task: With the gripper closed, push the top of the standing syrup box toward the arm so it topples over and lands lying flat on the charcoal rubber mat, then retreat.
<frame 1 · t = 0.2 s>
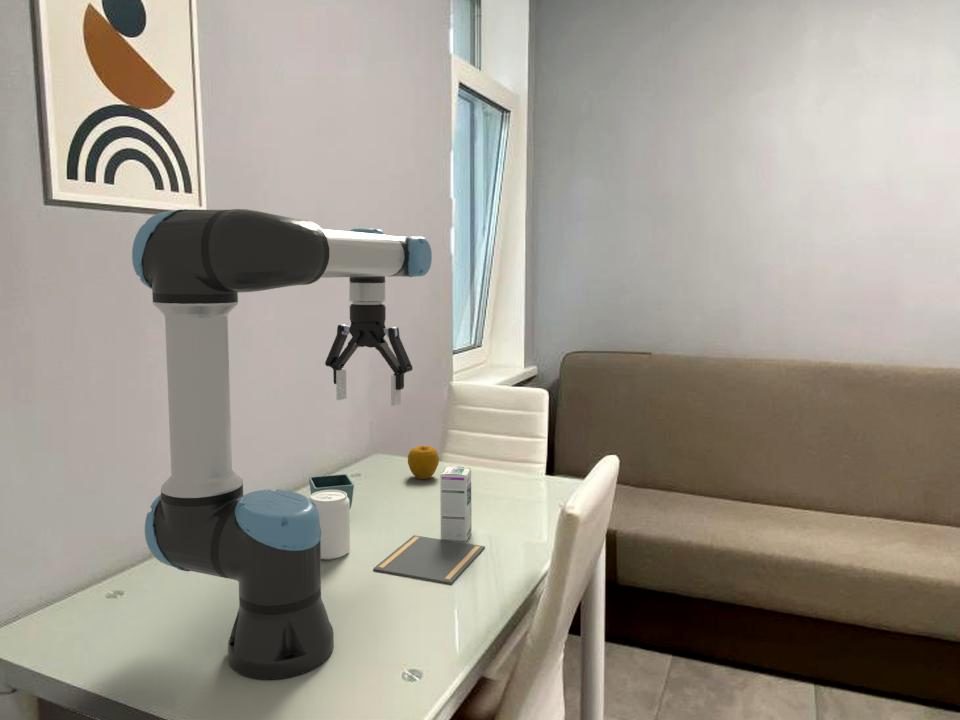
hand: (368, 402, 152), 28 cm above the table, fingers open, 13 cm apart
apple: (423, 478, 193), on the table
beverage can: (329, 554, 141), on the table
mat: (431, 558, 139), on the table
syrup box: (455, 536, 152), on the table
flower pot: (331, 519, 161), on the table
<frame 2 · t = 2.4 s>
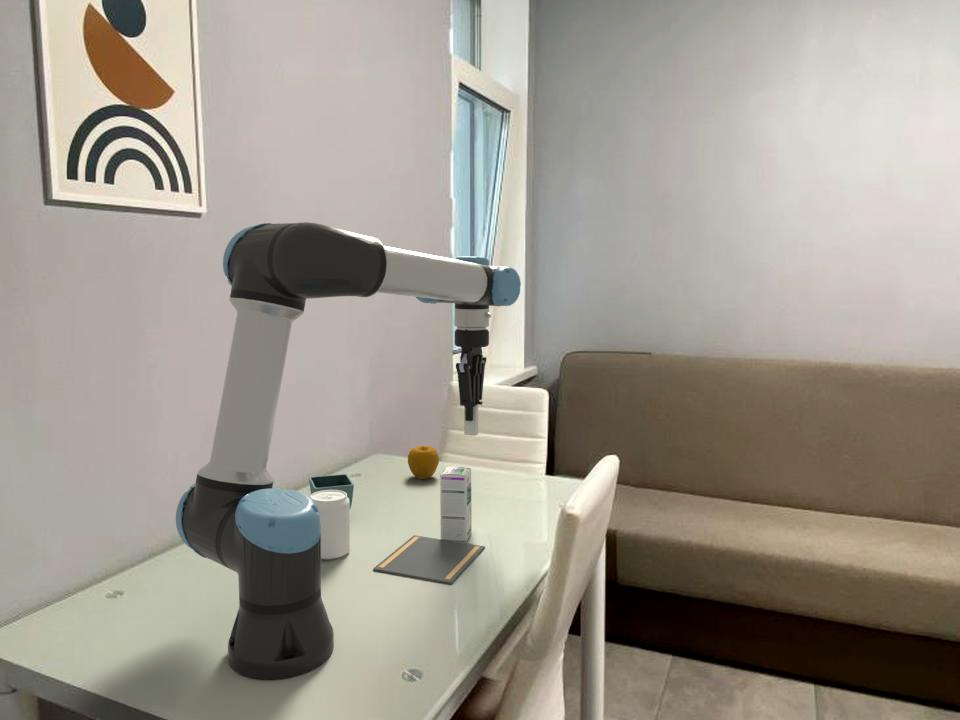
hand: (471, 434, 157), 20 cm above the table, fingers closed
nothing on the table moved.
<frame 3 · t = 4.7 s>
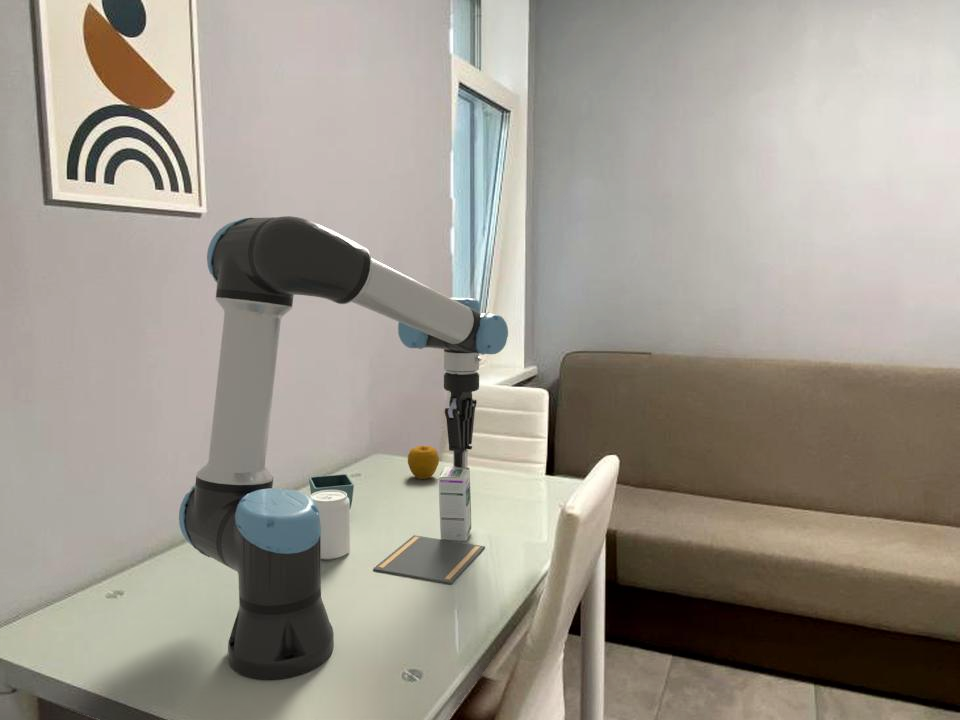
hand: (460, 479, 152), 12 cm above the table, fingers closed
syrup box: (455, 535, 151), on the table, touching gripper
everything else where it was.
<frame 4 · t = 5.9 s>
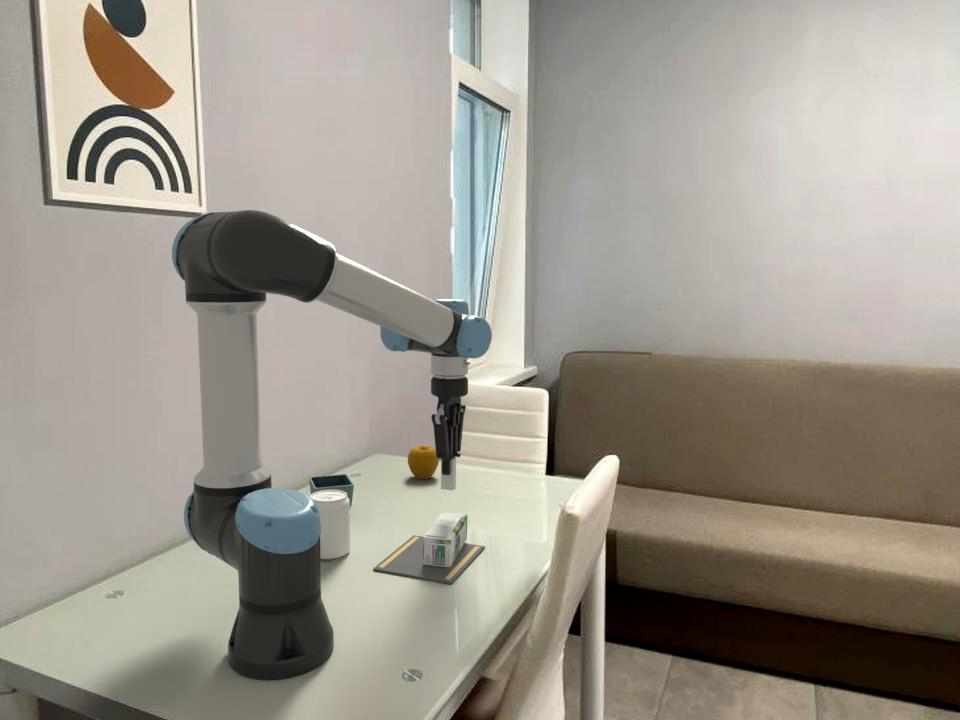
hand: (448, 488, 146), 12 cm above the table, fingers closed
syrup box: (454, 525, 149), point 3 cm above the table, touching mat
everything else where it was.
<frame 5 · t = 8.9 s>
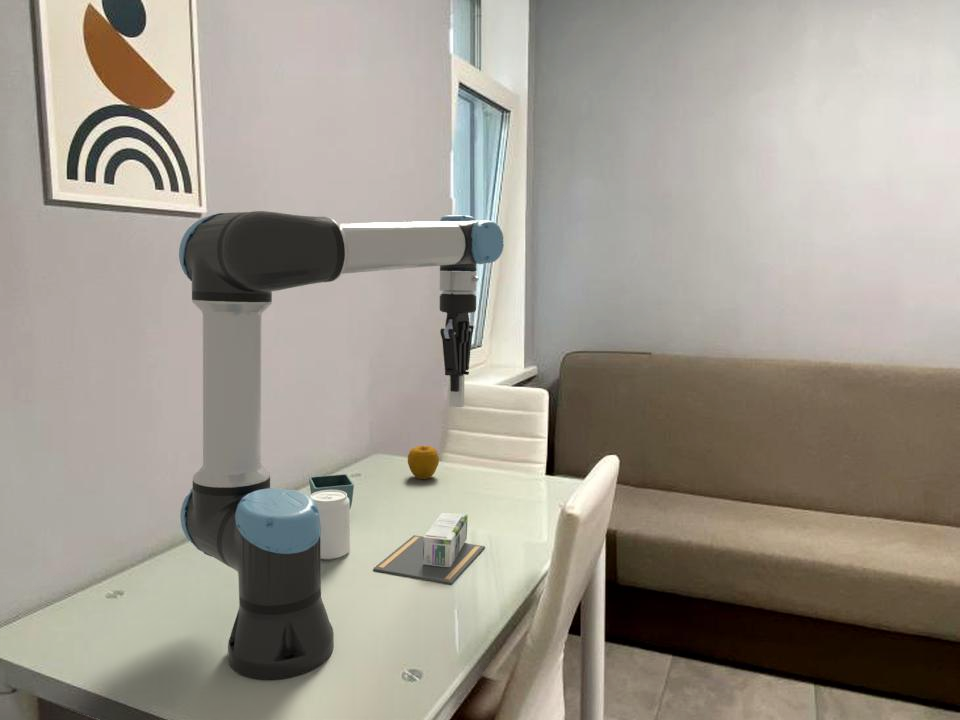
hand: (456, 406, 148), 28 cm above the table, fingers closed
nothing on the table moved.
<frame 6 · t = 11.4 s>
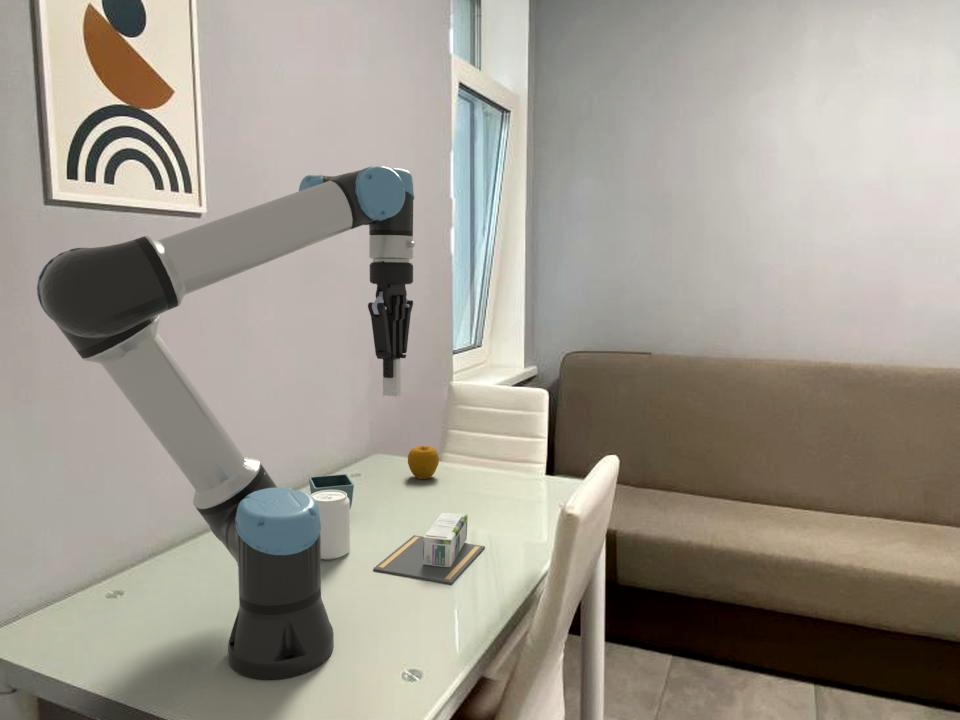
hand: (391, 395, 126), 34 cm above the table, fingers closed
nothing on the table moved.
at the end: syrup box tilted 90°; syrup box inside the target area (3.6 cm from its centre), point 3.2 cm above the table; the gripper is holding nothing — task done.
